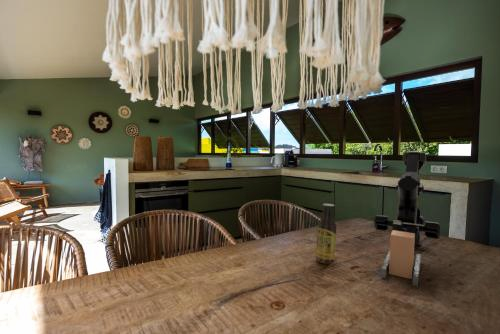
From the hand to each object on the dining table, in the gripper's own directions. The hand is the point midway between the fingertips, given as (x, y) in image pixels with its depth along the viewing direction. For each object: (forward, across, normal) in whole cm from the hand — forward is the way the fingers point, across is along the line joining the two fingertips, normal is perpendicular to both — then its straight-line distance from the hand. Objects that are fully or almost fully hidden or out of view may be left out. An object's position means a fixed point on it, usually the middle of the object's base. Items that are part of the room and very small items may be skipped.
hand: (403, 249), depth 87 cm
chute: (+6, 0, -5) cm, 8 cm away
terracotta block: (+7, 0, -2) cm, 7 cm away
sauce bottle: (+9, +23, -2) cm, 25 cm away
